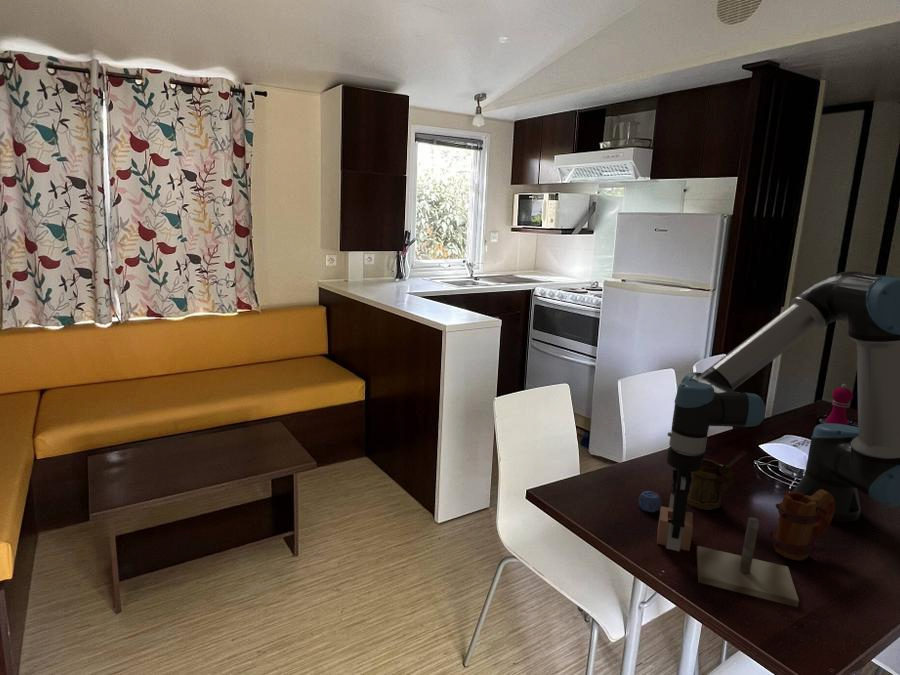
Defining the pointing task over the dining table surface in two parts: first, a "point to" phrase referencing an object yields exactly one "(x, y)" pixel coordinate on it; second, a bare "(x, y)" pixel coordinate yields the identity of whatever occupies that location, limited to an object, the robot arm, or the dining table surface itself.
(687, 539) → the bead
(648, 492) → the decorative dice
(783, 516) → the mug
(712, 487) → the wooden mug
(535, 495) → the dining table surface
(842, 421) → the pepper mill
